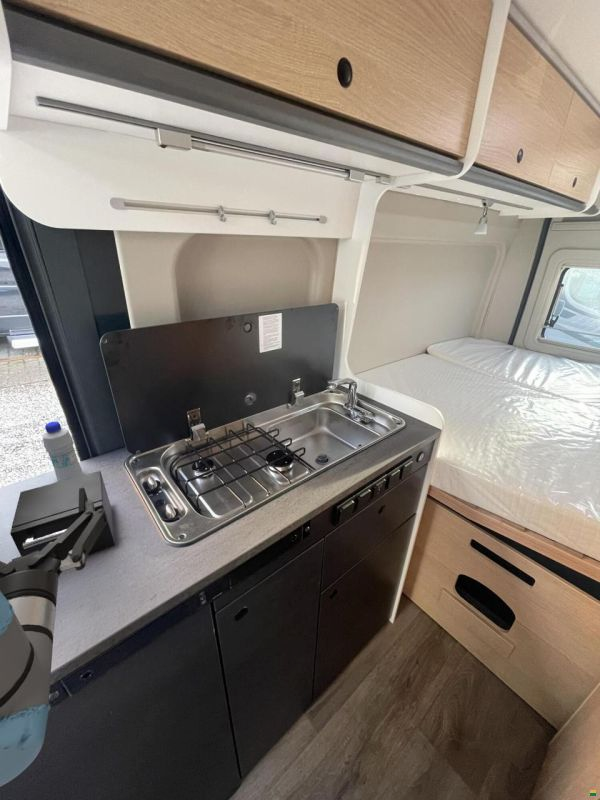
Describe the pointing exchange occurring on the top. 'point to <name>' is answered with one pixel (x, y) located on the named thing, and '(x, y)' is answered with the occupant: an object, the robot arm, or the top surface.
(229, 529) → the top surface
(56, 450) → the bottle
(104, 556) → the top surface
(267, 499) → the top surface
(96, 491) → the oven
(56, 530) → the oven door
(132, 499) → the top surface
